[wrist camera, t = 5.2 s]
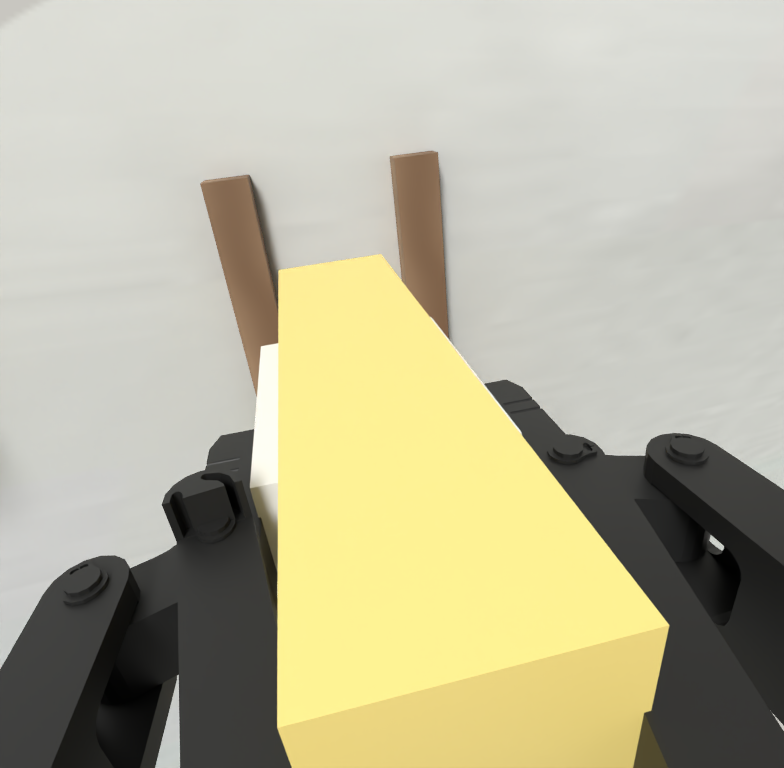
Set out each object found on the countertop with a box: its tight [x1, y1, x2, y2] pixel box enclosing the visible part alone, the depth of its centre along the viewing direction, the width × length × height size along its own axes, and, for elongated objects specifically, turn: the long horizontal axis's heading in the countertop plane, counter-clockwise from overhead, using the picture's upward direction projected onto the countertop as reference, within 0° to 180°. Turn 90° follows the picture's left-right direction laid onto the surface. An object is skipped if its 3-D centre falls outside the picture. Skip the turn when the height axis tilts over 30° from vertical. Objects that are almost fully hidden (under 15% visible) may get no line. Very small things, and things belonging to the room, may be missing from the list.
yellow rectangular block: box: [277, 254, 669, 768], centre depth 12 cm, size 4×5×15 cm
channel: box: [201, 151, 449, 396], centre depth 29 cm, size 10×24×1 cm, turn 6°
